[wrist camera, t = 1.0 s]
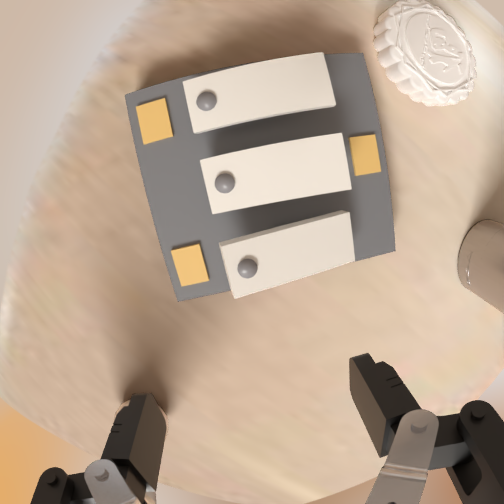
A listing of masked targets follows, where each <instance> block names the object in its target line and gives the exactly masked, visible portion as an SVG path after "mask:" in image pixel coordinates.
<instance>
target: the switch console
mask: <svg viewBox="0 0 504 504" xmlns="http://www.w3.org/2000/svg"><path fill="white" fill-rule="evenodd" d="M324 58H325V61H326V65H327V69H328V73H329V77H330V81H331V85H332V89H333V94H334V98H335V102H336V105H335V106H334V107H329V108H322V109H315V110H308V111H302V112H296V113H290V114H284V115H279V116H274V117H268V118H263V119H258V120H254V121H249V122H244V123H240V124H235V125H231V126H227V127H223V128H218V129H214V130H210V131H206V132H203V133H199V134H197V133H193V128H192V123H191V119H190V114H189V110H188V105H187V100H186V96H185V91H184V86H183V81H186V80H189V79H193V78H196V77H200V76H203V75H207V74H210V73H214V72H218V71H222V70H226V69H230V68H234V67H238V66H243V65H247V64H252V63H247V64H241V65H236V66H230V67H225V68H220V69H216V70H211V71H207V72H202V73H198V74H194V75H190V76H186V77H182V78H178V79H174V80H171V81H167V82H164V83H160V84H157V85H154V86H150V87H147V88H144V89H141V90H138V91H135V92H132V93H129V94H126V95H125V99H126V104H127V110H128V115H129V120H130V125H131V130H132V134H133V139H134V144H135V148H136V153H137V157H138V162H139V166H140V170H141V174H142V178H143V183H144V187H145V191H146V195H147V198H148V202H149V206H150V210H151V214H152V217H153V221H154V225H155V228H156V232H157V235H158V239H159V242H160V246H161V249H162V253H163V256H164V259H165V263H166V266H167V269H168V272H169V275H170V279H171V282H172V285H173V288H174V291H175V294H176V297H177V300H178V302H179V301H184V300H189V299H193V298H198V297H203V296H208V295H212V294H217V293H222V292H226V291H231V289H230V285H229V281H228V277H227V274H226V270H225V266H224V262H223V258H222V254H221V250H220V246H219V242H223V241H227V240H230V239H234V238H238V237H241V236H245V235H249V234H253V233H256V232H260V231H264V230H268V229H271V228H275V227H279V226H283V225H286V224H290V223H294V222H298V221H302V220H305V219H309V218H313V217H317V216H321V215H325V214H328V213H332V212H336V211H340V210H343V211H347V212H350V220H351V228H352V236H353V245H354V254H355V261H358V260H362V259H366V258H370V257H374V256H378V255H382V254H386V253H390V252H393V251H395V236H394V223H393V212H392V202H391V193H390V185H389V177H388V170H387V163H386V157H385V150H384V144H383V139H382V133H381V128H380V123H379V118H378V113H377V108H376V103H375V99H374V94H373V90H372V86H371V82H370V78H369V74H368V70H367V66H366V62H365V59H364V55H363V53H341V54H324ZM266 61H267V60H266ZM259 62H262V61H259ZM253 63H257V62H253ZM336 133H342V136H343V141H344V146H345V151H346V157H347V163H348V169H349V175H350V181H351V188H352V189H351V190H344V191H338V192H332V193H326V194H320V195H314V196H308V197H302V198H296V199H291V200H285V201H279V202H274V203H268V204H263V205H258V206H252V207H247V208H242V209H237V210H232V211H227V212H222V213H217V214H212V210H211V206H210V202H209V198H208V194H207V189H206V185H205V181H204V177H203V172H202V168H201V164H200V160H202V159H206V158H210V157H215V156H219V155H223V154H227V153H232V152H236V151H241V150H246V149H250V148H255V147H260V146H265V145H270V144H276V143H281V142H286V141H292V140H298V139H304V138H310V137H316V136H323V135H329V134H336ZM353 262H354V261H353Z"/></svg>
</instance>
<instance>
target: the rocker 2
mask: <svg viewBox="0 0 504 504" xmlns="http://www.w3.org/2000/svg"><path fill="white" fill-rule="evenodd" d="M219 246H220V250H221V254H222V258H223V262H224V266H225V270H226V274H227V277H228V281H229V285H230V289H231V293H232V295H233V297H234V299H236V298H239V297H243V296H246V295H249V294H253V293H256V292H259V291H263V290H266V289H269V288H272V287H276V286H279V285H282V284H285V283H288V282H292V281H295V280H298V279H301V278H304V277H307V276H311V275H314V274H317V273H320V272H323V271H326V270H329V269H332V268H335V267H338V266H341V265H344V264H347V263H350V262H353V261H355V254H354V245H353V236H352V228H351V220H350V212H347V211H343V210H340V211H336V212H332V213H328V214H325V215H321V216H317V217H313V218H309V219H305V220H302V221H298V222H294V223H290V224H286V225H283V226H279V227H275V228H271V229H268V230H264V231H260V232H256V233H253V234H249V235H245V236H241V237H238V238H234V239H230V240H227V241H223V242H219Z"/></svg>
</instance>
